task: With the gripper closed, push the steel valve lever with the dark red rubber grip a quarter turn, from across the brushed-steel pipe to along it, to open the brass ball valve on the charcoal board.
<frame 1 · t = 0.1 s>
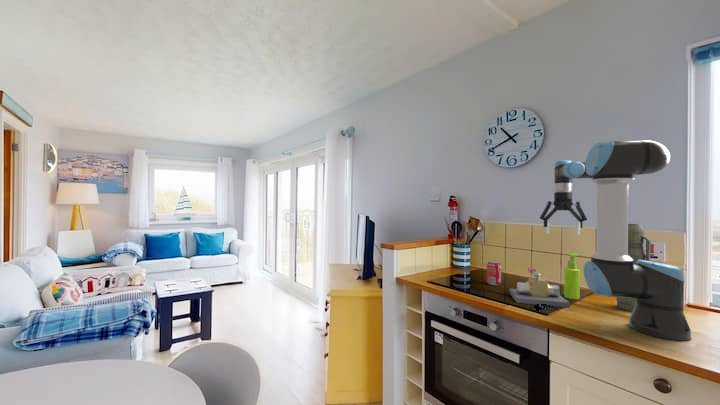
hand: (562, 234, 157), 28 cm above the worktop, fingers open, 13 cm apart
plinth: (537, 299, 140), on the worktop
valve body: (537, 287, 140), point 6 cm above the worktop
soap dispenser: (572, 297, 144), on the worktop
soda can: (493, 284, 166), on the worktop
lever: (534, 272, 145), point 11 cm above the worktop, hinge at 0.0°
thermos: (630, 309, 129), on the worktop
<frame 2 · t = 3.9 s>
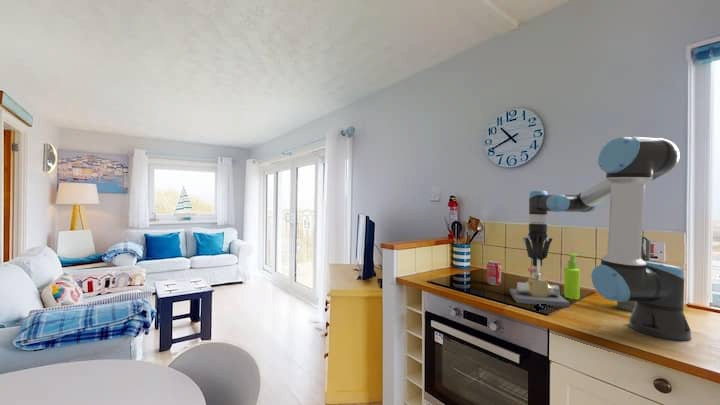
hand: (537, 273, 148), 10 cm above the worktop, fingers closed
lever: (534, 272, 145), point 11 cm above the worktop, hinge at 0.1°, touching gripper
everything else where it was.
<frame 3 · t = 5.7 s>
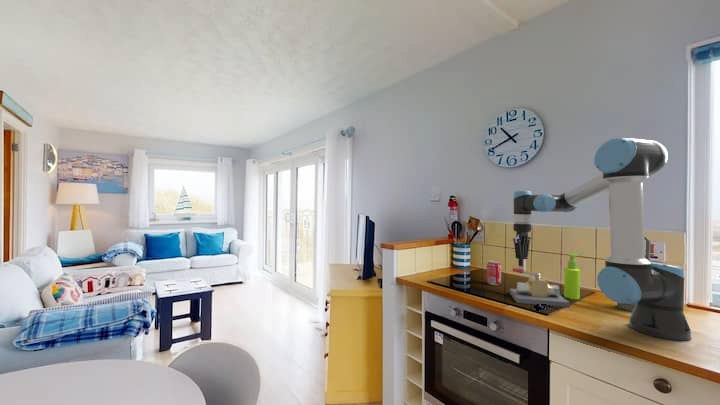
hand: (521, 272, 149), 10 cm above the worktop, fingers closed
lever: (526, 272, 145), point 11 cm above the worktop, hinge at 41.5°, touching gripper
everything else where it was.
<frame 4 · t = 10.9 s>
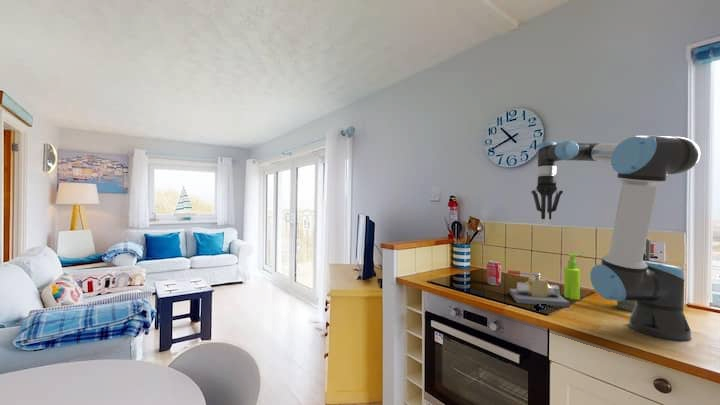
hand: (546, 226, 146), 32 cm above the worktop, fingers closed
lever: (524, 273, 143), point 11 cm above the worktop, hinge at 76.6°
everything else where it was.
at the end: lever at +77° (first picture: +0°) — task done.
